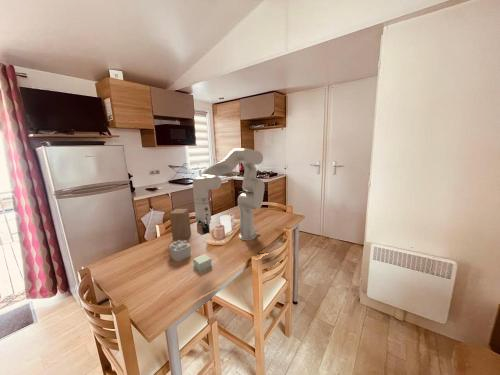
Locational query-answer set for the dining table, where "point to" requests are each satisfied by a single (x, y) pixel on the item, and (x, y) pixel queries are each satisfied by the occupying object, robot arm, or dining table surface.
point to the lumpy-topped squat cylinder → (180, 250)
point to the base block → (202, 262)
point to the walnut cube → (201, 228)
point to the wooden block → (180, 224)
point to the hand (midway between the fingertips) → (203, 231)
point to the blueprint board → (203, 269)
